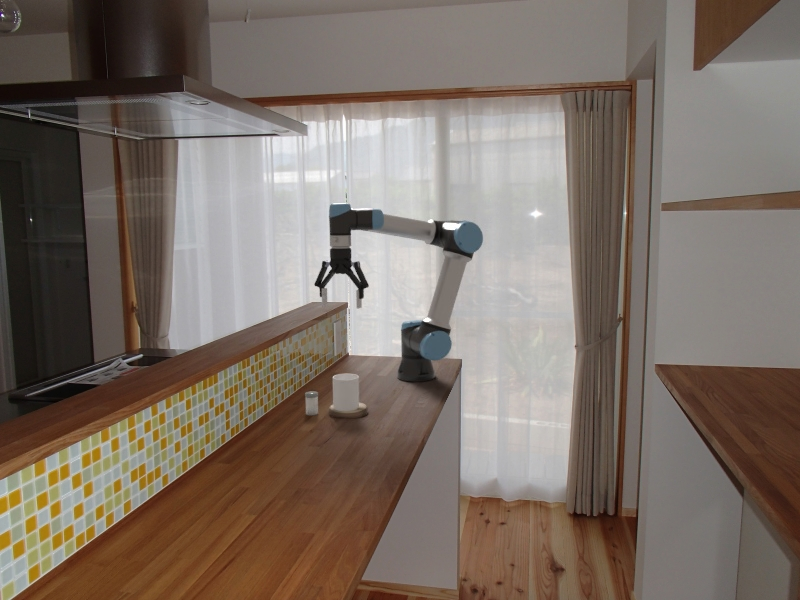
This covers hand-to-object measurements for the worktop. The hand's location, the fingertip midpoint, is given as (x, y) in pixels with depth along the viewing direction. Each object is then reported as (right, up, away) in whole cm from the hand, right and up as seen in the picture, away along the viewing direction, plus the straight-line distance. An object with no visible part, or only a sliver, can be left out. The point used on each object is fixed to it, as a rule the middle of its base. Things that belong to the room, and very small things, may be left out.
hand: (341, 307), depth 234 cm
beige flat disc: (+3, -35, -15) cm, 38 cm away
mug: (+3, -33, -15) cm, 37 cm away
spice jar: (-9, -35, -15) cm, 39 cm away
